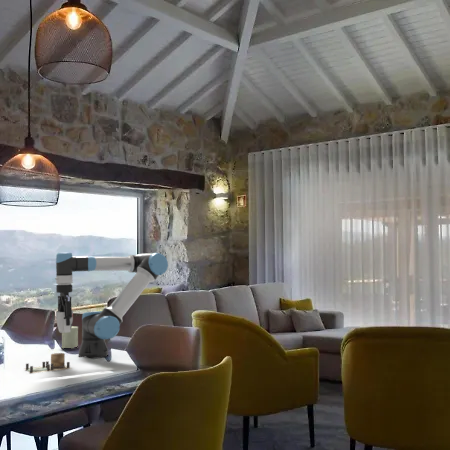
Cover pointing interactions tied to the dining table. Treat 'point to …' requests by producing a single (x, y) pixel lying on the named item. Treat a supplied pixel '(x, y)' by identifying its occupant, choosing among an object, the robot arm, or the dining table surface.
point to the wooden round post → (58, 360)
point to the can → (70, 338)
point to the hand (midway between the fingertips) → (64, 331)
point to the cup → (62, 321)
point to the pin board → (45, 368)
